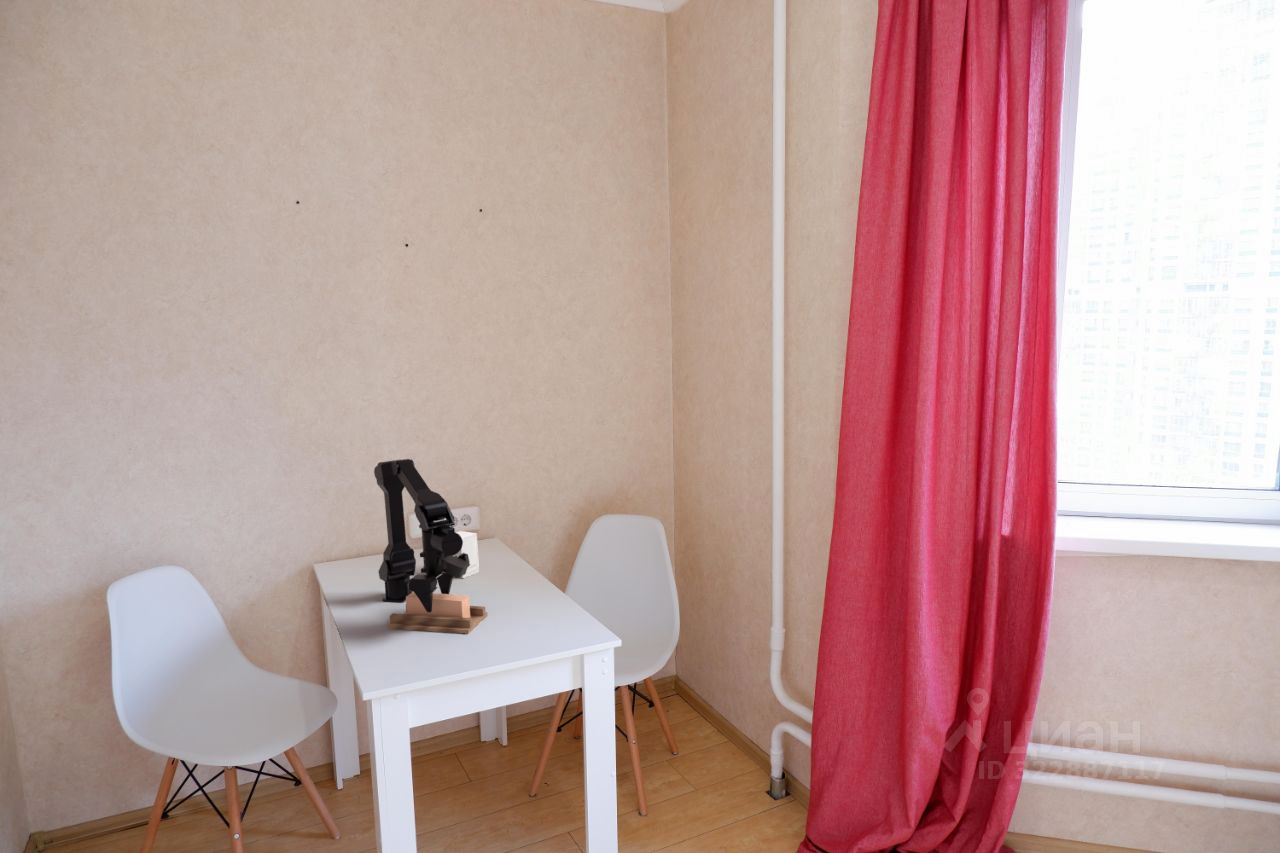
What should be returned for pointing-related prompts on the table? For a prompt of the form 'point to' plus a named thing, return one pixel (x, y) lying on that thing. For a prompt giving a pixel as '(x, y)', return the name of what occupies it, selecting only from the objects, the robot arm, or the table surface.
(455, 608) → the peach rectangular block
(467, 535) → the supplement box
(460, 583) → the table surface
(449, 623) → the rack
